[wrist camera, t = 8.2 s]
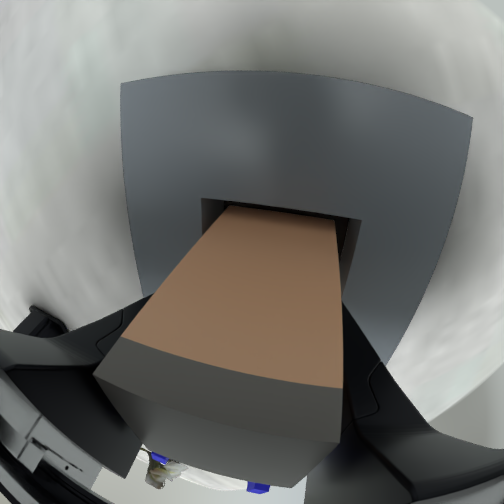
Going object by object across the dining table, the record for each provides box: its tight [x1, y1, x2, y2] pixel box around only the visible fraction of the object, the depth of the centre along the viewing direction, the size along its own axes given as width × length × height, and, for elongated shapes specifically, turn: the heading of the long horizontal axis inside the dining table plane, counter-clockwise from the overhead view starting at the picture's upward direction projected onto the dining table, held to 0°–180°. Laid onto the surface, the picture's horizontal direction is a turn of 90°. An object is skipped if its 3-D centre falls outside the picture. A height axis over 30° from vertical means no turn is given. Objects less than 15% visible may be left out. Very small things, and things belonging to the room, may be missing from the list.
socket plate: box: [120, 71, 473, 366], centre depth 11 cm, size 14×12×2 cm
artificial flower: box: [140, 448, 188, 489], centre depth 37 cm, size 9×22×10 cm, turn 48°
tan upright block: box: [93, 205, 343, 488], centre depth 8 cm, size 4×4×8 cm
